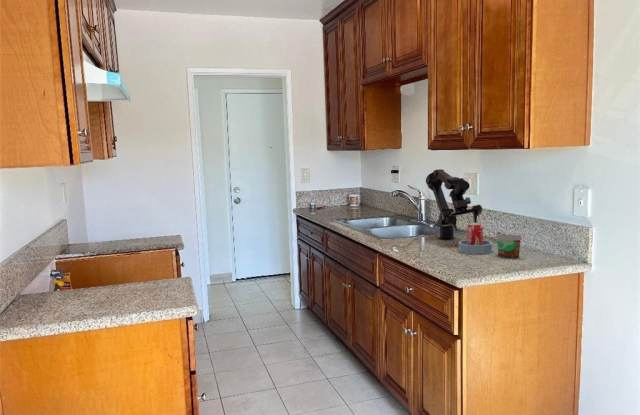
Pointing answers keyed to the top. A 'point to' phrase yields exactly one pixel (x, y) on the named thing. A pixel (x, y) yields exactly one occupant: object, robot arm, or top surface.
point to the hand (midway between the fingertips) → (466, 228)
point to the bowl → (475, 247)
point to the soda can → (474, 234)
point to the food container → (508, 245)
